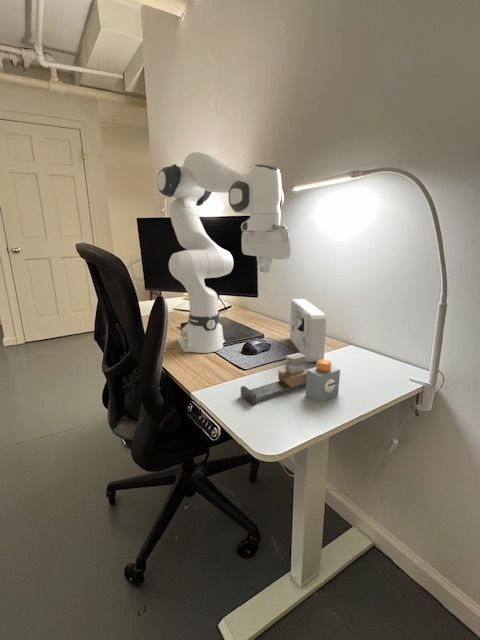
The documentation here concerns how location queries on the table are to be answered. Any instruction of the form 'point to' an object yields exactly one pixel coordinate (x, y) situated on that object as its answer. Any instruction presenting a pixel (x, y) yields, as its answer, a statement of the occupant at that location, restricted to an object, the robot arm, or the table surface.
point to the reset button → (323, 365)
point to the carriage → (294, 370)
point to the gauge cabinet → (322, 384)
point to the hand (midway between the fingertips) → (264, 272)
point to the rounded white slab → (308, 329)
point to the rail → (267, 391)
